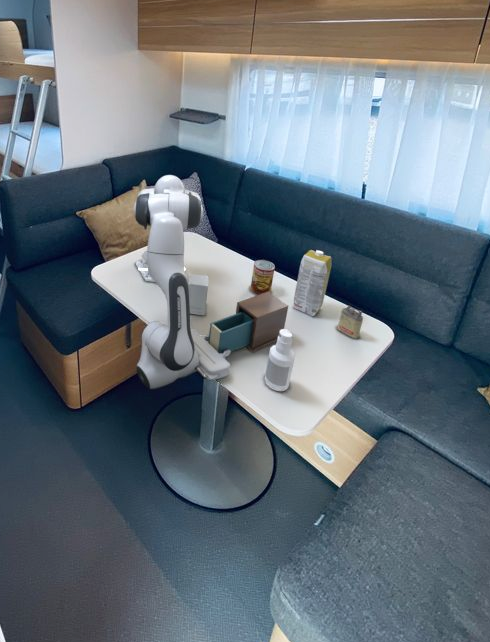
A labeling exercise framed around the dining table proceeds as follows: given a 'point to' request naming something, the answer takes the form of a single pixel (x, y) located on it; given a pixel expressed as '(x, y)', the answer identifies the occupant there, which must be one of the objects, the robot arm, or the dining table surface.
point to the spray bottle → (280, 362)
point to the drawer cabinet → (264, 318)
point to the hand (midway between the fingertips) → (221, 343)
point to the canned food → (262, 277)
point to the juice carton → (312, 282)
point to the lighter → (350, 322)
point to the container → (231, 332)
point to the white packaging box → (197, 293)
